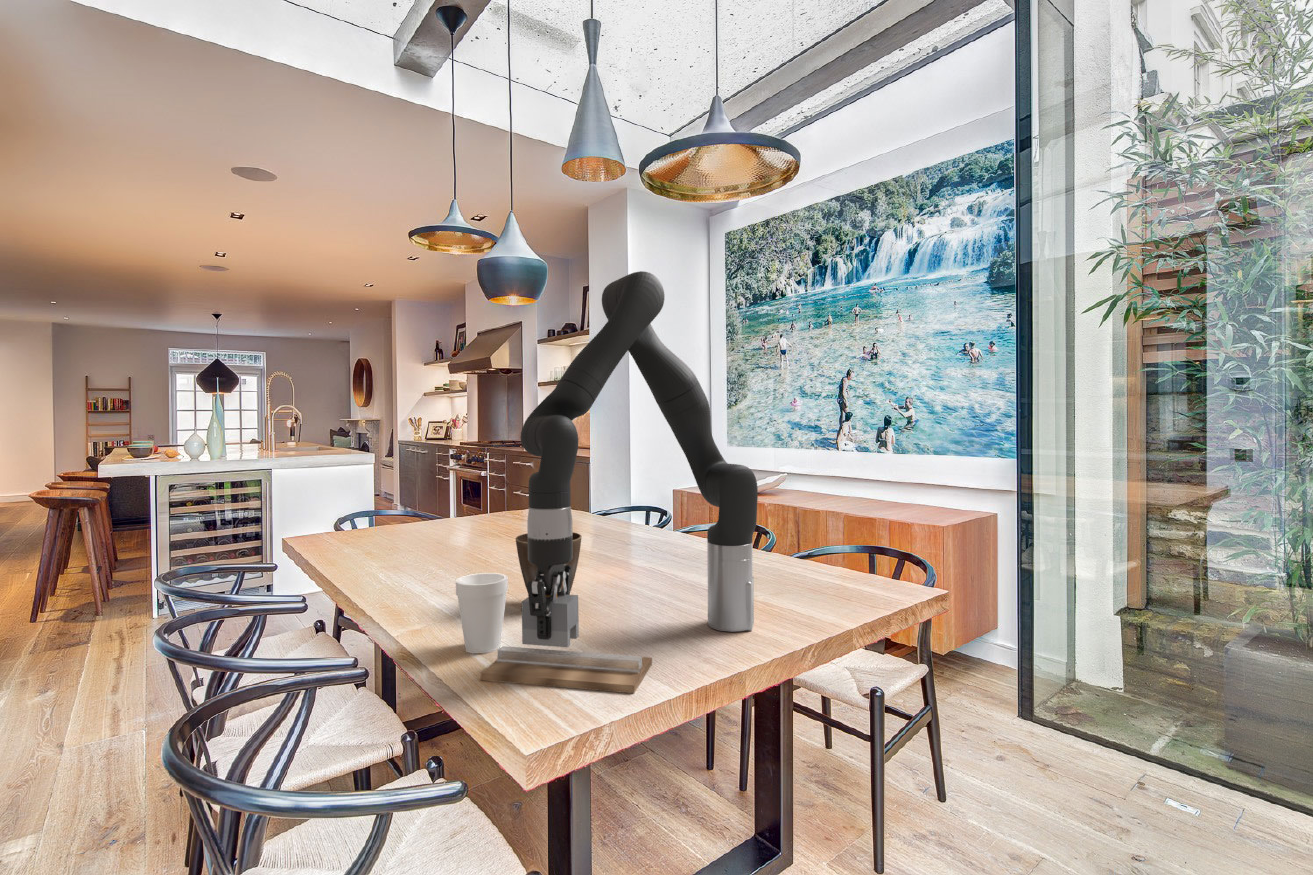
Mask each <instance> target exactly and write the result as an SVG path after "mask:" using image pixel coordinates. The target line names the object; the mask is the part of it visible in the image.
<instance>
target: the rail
mask: <svg viewBox="0 0 1313 875" xmlns="http://www.w3.org/2000/svg"><path fill="white" fill-rule="evenodd" d="M496 651H497V659H496V660H497V663H508V664H520V665H533V666H546V667H558V668H571V669H583V670H596V671H608V672H621V673H633V674H639V672H640V671H641V669H642V668H643V666H642V657H643V656H642V655H641V656H640V655H630V654H629V655H628V654H627V655H626V654H614V653H603V652H602V653H599V652H588V651H586V652H585V651H573V650H572V651H571V650H559V649H547V648H545V649H544V648H533V647H532V648H531V647H520V646H518V647H517V646H506V645H504V646H503V645H502V646H500V648H499V649H498V650H496Z"/></svg>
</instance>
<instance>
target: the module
mask: <svg viewBox="0 0 1313 875" xmlns="http://www.w3.org/2000/svg"><path fill="white" fill-rule="evenodd" d="M550 596H551V595H546V597H550ZM546 606H547V602H546ZM535 607H536V603H535ZM551 607H552V611H551V638H549V639H548V640H545V639H538V637H537V616H531V615H530V607H529V597H526V598H525V599H524V600H522V601H521V630H522V631H521V638H522V639H521V641H522V642H521V643H522V645H527V646H529V645H530V646H540V647H541V646H542V647H557V648H569V647H570V646H571V640H577V639H578V638H579V637H580V634H579V632H580V630H579V629H580V628H579V626H580V625H579V624H580V623H579V621H580V620H579V615H580V614H579V595H578V594H570V595H556V601H555V602H554V603H552V604H551ZM540 609H541V605H540Z"/></svg>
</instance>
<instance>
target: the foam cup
mask: <svg viewBox="0 0 1313 875" xmlns="http://www.w3.org/2000/svg"><path fill="white" fill-rule="evenodd" d="M508 590H509V579H508V575H507V574H503V573H498V572H497V573H496V572H479V573H472V574H467V575H462V576H459V577H457V579H455V596H457V600H458V601H457V602H458V608H459V614H460V615H459V616H460V621H461V627H462V628H461V629H462V634H463V635H462V636H463V641H464V642H463V643H464V646H465V651H466V652H467V651H468V653H469V654H474V653H482V654H488V653H493V652H495V651H497V649H498V648H499V647H500V648H501V644H502V634H503V627H504V626H503V625H504V618H505V608H506V601H507V594H508V593H507V592H508ZM500 648H499V649H500Z"/></svg>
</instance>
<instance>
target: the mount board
mask: <svg viewBox="0 0 1313 875" xmlns="http://www.w3.org/2000/svg"><path fill="white" fill-rule="evenodd" d="M497 660H498V659H496V660H495V661H494V662H492V663H491V664H490V665H488V666H487V667H486V668H485V669H484V670H482V671H481V672H480V681H489V682H490V681H491V682H500V683H501V682H502V683H510V684H511V683H512V684H521V685H522V684H524V685H537V686H544V687H545V686H546V687H547V686H548V687H559V688H560V687H561V688H568V689H569V688H570V689H583V690H591V691H592V690H594V691H603V692H604V691H605V692H615V693H617V692H618V693H629V694H635V693H636V692H637V690H638V688H639V687H640V685H641V683H642V681H643V680H644V678H645V677H646V675H647V673H649V670H650V669H651V666H652V665H653V658H652V657H647V656H646V657H645V656H642V666H643V668H642V669H641V671H640V672H639V674H633V673H621V672H608V671H596V670H583V669H571V668H558V667H546V666H533V665H520V664H508V663H497Z"/></svg>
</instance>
